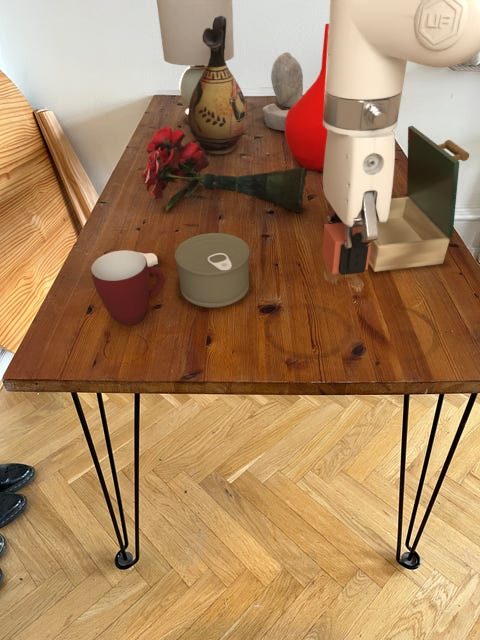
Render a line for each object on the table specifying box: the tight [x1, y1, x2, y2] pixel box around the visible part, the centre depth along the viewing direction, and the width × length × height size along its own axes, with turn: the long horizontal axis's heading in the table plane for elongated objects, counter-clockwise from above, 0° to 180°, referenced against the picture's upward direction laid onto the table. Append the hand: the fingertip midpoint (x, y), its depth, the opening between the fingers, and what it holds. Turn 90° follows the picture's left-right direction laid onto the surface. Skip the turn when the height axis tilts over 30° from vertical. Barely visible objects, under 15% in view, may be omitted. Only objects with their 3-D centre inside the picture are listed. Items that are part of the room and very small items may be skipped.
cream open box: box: [354, 196, 451, 272], centre depth 88 cm, size 13×17×5 cm
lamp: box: [156, 0, 235, 123], centre depth 136 cm, size 20×20×35 cm
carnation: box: [140, 126, 308, 214], centre depth 102 cm, size 16×18×35 cm
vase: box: [284, 22, 329, 172], centre depth 110 cm, size 18×18×30 cm
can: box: [174, 232, 251, 308], centre depth 79 cm, size 12×12×7 cm
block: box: [321, 222, 372, 275], centre depth 59 cm, size 4×4×4 cm
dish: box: [262, 103, 291, 132], centre depth 139 cm, size 14×14×5 cm
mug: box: [90, 249, 165, 327], centre depth 73 cm, size 11×8×10 cm
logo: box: [137, 251, 159, 267], centre depth 86 cm, size 6×1×8 cm
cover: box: [406, 125, 470, 239], centre depth 83 cm, size 14×17×5 cm
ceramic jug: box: [187, 16, 249, 156], centre depth 120 cm, size 17×15×30 cm
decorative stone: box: [270, 52, 304, 109], centre depth 152 cm, size 15×10×15 cm
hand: (344, 259), depth 60 cm, fingers closed on block, 4 cm apart
